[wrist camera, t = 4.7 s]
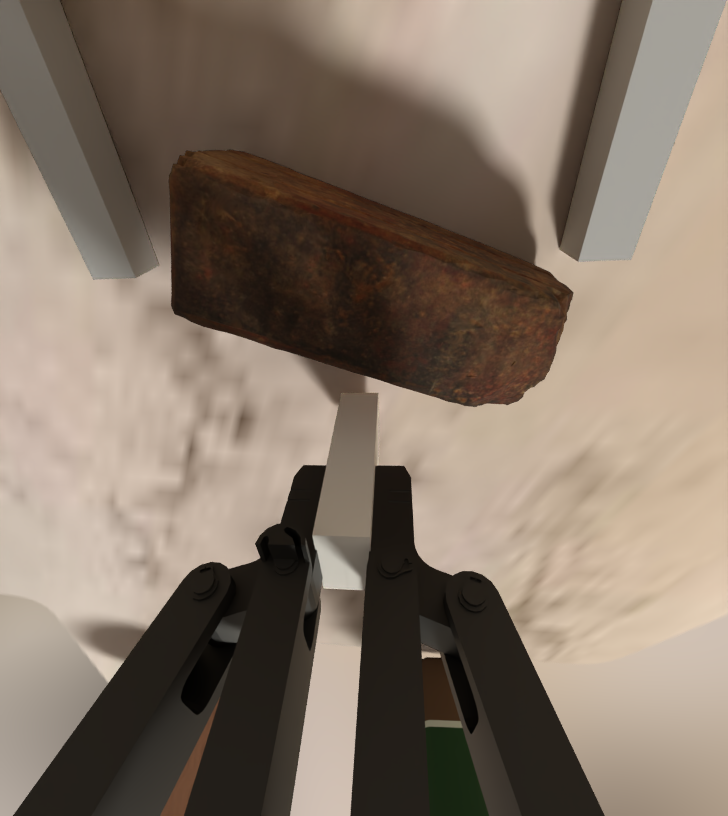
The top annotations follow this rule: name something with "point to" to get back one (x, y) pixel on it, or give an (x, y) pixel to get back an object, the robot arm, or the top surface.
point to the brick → (356, 282)
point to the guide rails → (595, 188)
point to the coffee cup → (187, 776)
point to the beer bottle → (447, 750)
